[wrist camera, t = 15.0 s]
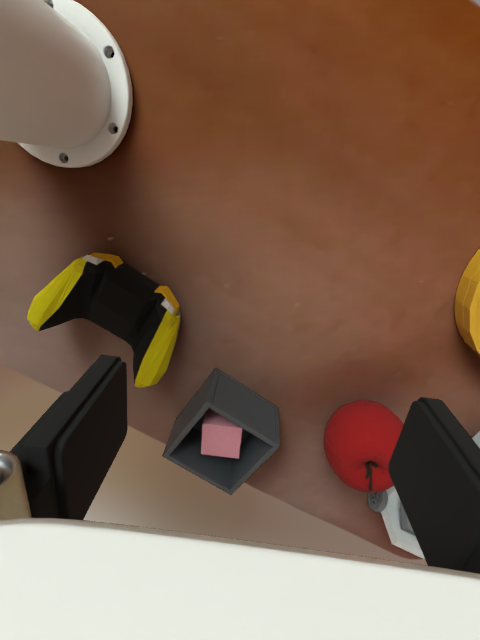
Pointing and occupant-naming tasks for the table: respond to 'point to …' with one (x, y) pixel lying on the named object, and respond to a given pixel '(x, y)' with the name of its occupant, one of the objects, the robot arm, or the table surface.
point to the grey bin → (240, 409)
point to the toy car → (398, 516)
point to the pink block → (220, 436)
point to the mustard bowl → (469, 304)
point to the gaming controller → (114, 309)
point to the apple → (362, 444)
